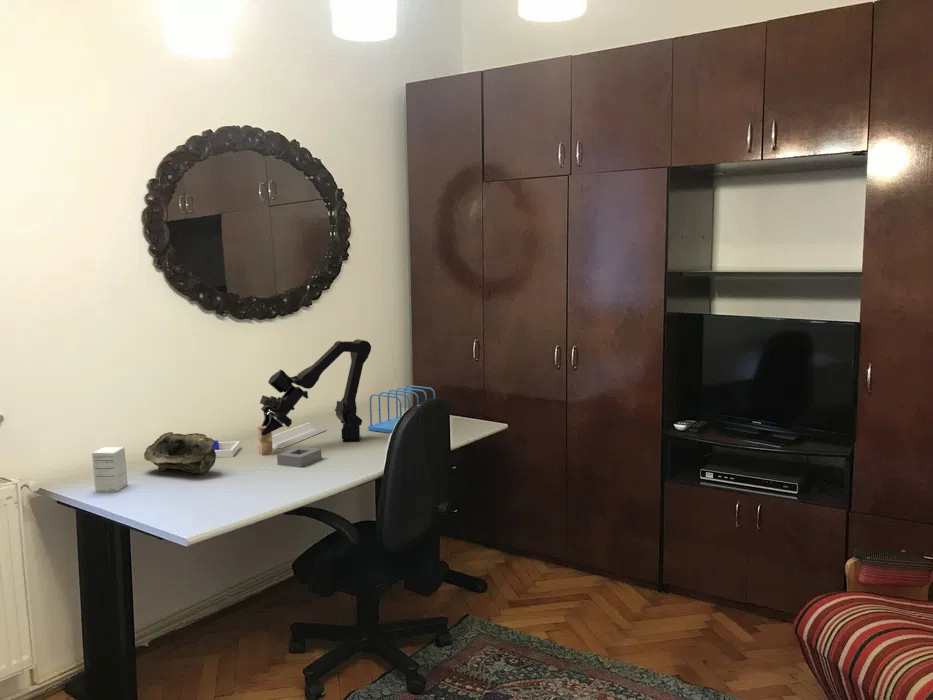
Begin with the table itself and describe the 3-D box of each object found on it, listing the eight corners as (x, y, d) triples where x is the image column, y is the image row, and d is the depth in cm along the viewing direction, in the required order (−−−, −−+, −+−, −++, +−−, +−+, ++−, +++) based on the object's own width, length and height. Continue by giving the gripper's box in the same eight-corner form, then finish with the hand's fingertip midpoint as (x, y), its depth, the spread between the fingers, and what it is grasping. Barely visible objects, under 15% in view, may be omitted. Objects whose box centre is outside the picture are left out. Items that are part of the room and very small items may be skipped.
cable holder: (210, 456, 290) (209, 445, 289) (202, 456, 291) (201, 445, 290) (222, 450, 298) (221, 440, 297) (214, 450, 298) (213, 440, 298)
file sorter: (401, 435, 315) (400, 397, 313) (367, 430, 324) (366, 393, 322) (437, 423, 336) (436, 387, 334) (405, 419, 345) (404, 384, 343)
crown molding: (280, 451, 297) (280, 441, 297) (254, 448, 302) (254, 439, 302) (326, 432, 326) (326, 423, 325) (301, 430, 331) (301, 421, 330)
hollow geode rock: (216, 490, 264) (238, 451, 271) (192, 471, 255) (216, 431, 262) (160, 476, 278) (183, 440, 285) (136, 458, 269) (160, 421, 276)
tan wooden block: (270, 452, 293) (268, 425, 292) (272, 453, 291) (271, 427, 290) (259, 453, 291) (257, 427, 290) (262, 455, 289) (260, 428, 287)
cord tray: (240, 447, 301) (239, 441, 300) (232, 456, 288) (232, 450, 287) (205, 449, 300) (204, 442, 300) (196, 458, 287) (195, 451, 287)
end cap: (298, 456, 287) (298, 446, 286) (321, 458, 282) (321, 449, 282) (277, 464, 276) (276, 454, 275) (301, 467, 272) (300, 457, 271)
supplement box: (105, 485, 256) (102, 446, 255) (128, 484, 256) (125, 446, 255) (94, 492, 249) (91, 452, 248) (117, 491, 249) (114, 452, 247)
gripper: (264, 383, 298) (237, 416, 293) (281, 390, 282) (252, 425, 278) (286, 401, 303) (259, 434, 299) (303, 409, 287) (275, 444, 283)
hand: (261, 434), depth 289 cm, fingers closed on tan wooden block, 3 cm apart
